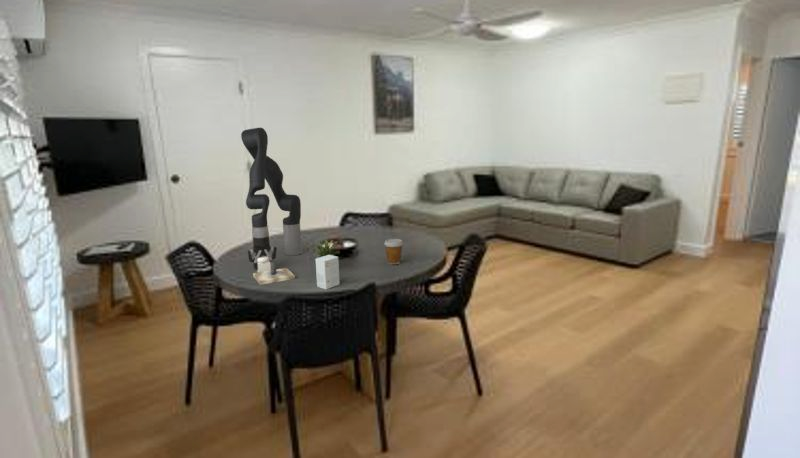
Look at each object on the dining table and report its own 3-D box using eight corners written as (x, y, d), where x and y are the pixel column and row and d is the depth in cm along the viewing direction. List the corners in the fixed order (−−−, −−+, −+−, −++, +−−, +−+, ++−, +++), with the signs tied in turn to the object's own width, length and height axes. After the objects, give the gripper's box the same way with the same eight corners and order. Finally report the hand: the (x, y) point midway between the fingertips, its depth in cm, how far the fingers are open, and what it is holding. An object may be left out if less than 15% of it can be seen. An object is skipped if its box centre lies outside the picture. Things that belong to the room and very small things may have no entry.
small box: (330, 281, 203) (329, 254, 200) (340, 284, 199) (338, 256, 196) (316, 286, 197) (315, 258, 194) (326, 289, 193) (324, 261, 190)
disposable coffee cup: (406, 261, 232) (405, 239, 229) (398, 267, 223) (398, 243, 221) (389, 259, 236) (389, 237, 233) (381, 264, 227) (380, 242, 225)
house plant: (327, 279, 207) (326, 245, 203) (305, 274, 214) (303, 241, 210) (347, 270, 218) (345, 238, 215) (325, 266, 226) (324, 235, 222)
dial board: (286, 270, 219) (285, 256, 218) (295, 278, 208) (294, 263, 206) (253, 276, 212) (252, 261, 210) (260, 284, 200) (258, 268, 198)
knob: (268, 268, 223) (267, 253, 221) (271, 271, 218) (270, 256, 216) (256, 270, 220) (254, 255, 218) (258, 274, 215) (257, 258, 213)
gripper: (273, 232, 221) (276, 264, 225) (243, 235, 215) (246, 269, 218) (277, 235, 215) (280, 268, 219) (246, 238, 208) (249, 273, 212)
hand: (263, 268), depth 219 cm, fingers closed on knob, 6 cm apart
